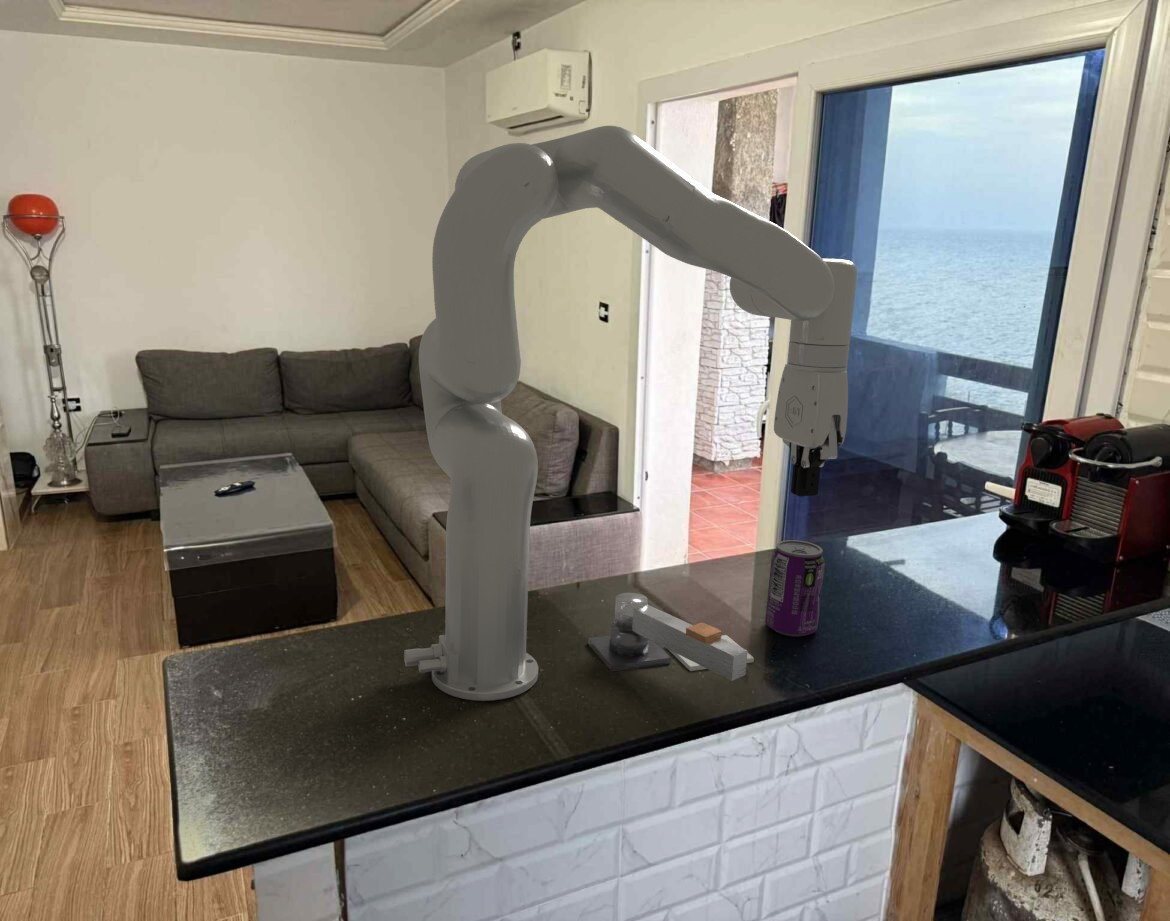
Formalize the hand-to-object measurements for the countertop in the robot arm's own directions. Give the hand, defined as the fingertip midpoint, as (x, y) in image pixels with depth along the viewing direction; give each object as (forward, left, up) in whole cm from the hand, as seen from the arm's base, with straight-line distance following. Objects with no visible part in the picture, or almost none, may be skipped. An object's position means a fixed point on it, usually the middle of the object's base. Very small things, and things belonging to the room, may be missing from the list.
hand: (804, 494), depth 115 cm
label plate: (-15, -4, -20) cm, 25 cm away
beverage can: (0, 0, -20) cm, 20 cm away
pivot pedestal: (-25, -1, -20) cm, 32 cm away
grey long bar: (-22, -8, -16) cm, 28 cm away
